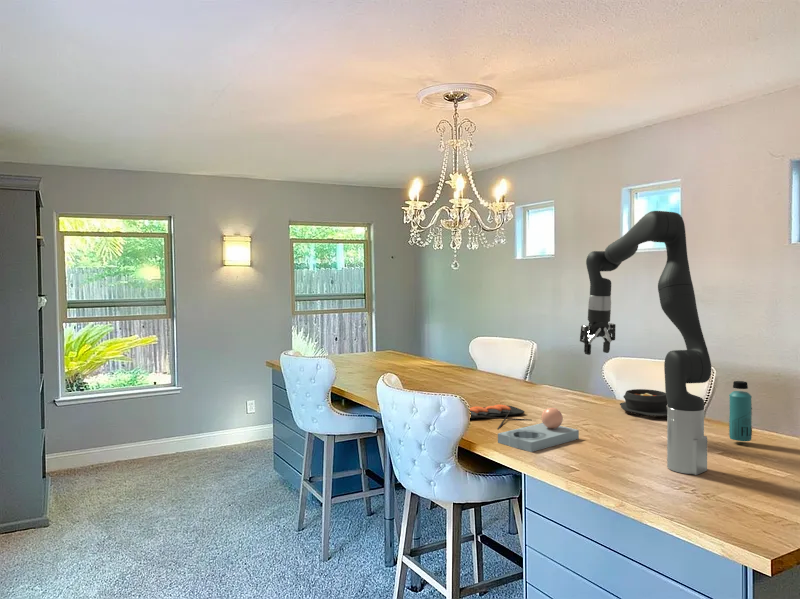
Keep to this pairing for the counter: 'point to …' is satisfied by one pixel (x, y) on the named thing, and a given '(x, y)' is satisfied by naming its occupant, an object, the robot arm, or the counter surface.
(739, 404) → the beverage bottle
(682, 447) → the robot arm
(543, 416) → the ball
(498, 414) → the sushi plate
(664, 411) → the casserole
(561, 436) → the board
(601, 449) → the counter surface
